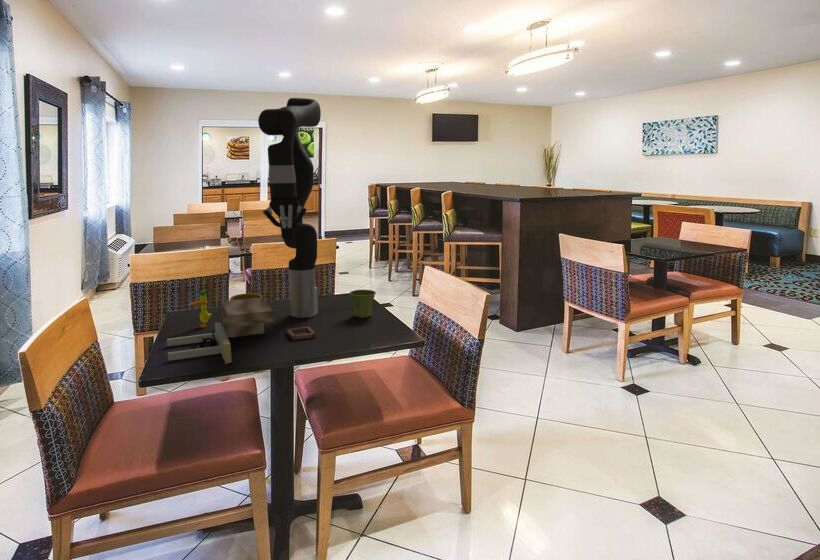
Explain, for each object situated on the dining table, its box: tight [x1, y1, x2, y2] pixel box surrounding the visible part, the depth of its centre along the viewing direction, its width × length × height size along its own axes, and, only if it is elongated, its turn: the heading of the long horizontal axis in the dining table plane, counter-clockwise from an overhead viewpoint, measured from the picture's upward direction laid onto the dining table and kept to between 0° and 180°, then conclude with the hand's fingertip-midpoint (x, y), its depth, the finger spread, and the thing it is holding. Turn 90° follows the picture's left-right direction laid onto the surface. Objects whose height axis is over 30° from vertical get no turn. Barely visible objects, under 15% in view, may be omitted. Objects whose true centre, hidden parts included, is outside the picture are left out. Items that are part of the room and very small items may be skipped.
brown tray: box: [286, 326, 316, 341], centre depth 157 cm, size 7×8×1 cm
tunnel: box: [221, 297, 274, 339], centre depth 149 cm, size 12×17×12 cm
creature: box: [189, 331, 217, 350], centre depth 143 cm, size 8×5×8 cm
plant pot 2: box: [349, 289, 377, 319], centre depth 179 cm, size 9×9×9 cm
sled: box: [166, 321, 233, 365], centre depth 139 cm, size 15×24×6 cm, turn 26°
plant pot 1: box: [229, 292, 263, 301], centre depth 168 cm, size 10×10×10 cm
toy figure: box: [189, 291, 213, 329], centre depth 165 cm, size 7×4×12 cm, turn 126°
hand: (287, 240), depth 149 cm, fingers closed
